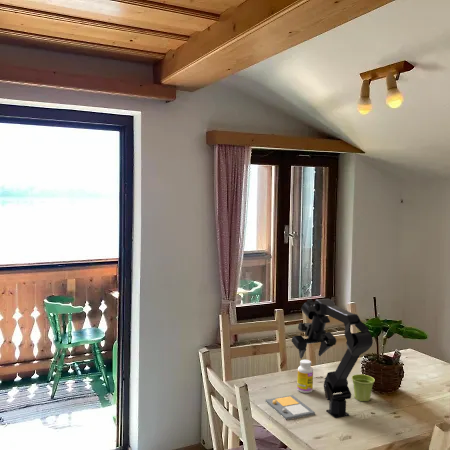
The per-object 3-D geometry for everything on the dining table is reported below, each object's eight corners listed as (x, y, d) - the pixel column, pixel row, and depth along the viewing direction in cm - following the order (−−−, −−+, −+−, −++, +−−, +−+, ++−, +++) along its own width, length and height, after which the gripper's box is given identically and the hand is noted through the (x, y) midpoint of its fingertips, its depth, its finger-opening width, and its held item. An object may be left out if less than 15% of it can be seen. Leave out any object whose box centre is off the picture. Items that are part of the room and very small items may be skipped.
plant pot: (377, 397, 208) (377, 377, 207) (369, 405, 200) (370, 384, 199) (355, 392, 213) (356, 372, 212) (347, 399, 205) (348, 379, 205)
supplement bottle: (308, 394, 210) (308, 365, 209) (294, 390, 214) (294, 361, 213) (315, 389, 215) (316, 361, 214) (301, 386, 219) (302, 357, 218)
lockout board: (314, 414, 191) (314, 409, 191) (286, 420, 187) (286, 414, 186) (292, 397, 207) (292, 392, 207) (265, 401, 202) (265, 397, 202)
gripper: (326, 313, 214) (319, 342, 220) (289, 317, 207) (282, 347, 213) (340, 328, 205) (332, 358, 211) (301, 332, 198) (294, 364, 204)
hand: (310, 356), depth 210 cm, fingers open, 9 cm apart
